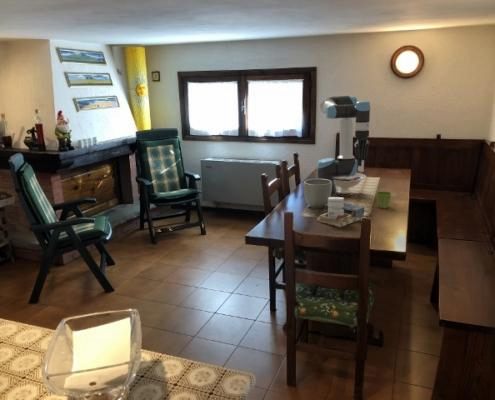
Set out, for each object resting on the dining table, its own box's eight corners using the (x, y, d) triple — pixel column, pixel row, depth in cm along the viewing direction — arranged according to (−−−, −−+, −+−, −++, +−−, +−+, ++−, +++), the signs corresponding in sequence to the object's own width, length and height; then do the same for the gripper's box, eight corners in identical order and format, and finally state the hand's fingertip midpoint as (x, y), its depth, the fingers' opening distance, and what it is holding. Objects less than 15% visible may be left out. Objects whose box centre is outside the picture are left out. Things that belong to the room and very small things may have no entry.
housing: (356, 217, 227) (356, 210, 226) (334, 212, 238) (334, 205, 237) (363, 214, 232) (364, 207, 231) (342, 209, 243) (342, 202, 242)
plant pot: (372, 205, 253) (373, 191, 251) (387, 204, 254) (388, 190, 252) (378, 209, 244) (379, 195, 242) (393, 208, 245) (394, 194, 243)
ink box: (343, 217, 230) (344, 196, 226) (343, 220, 225) (344, 199, 222) (328, 216, 232) (328, 196, 228) (327, 219, 227) (327, 198, 224)
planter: (314, 201, 267) (314, 177, 263) (337, 205, 255) (337, 180, 251) (298, 207, 256) (297, 182, 251) (320, 212, 244) (320, 186, 239)
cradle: (340, 227, 218) (340, 219, 217) (316, 220, 230) (316, 213, 229) (370, 215, 236) (370, 207, 234) (347, 209, 247) (347, 202, 246)
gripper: (361, 131, 222) (359, 174, 229) (374, 129, 230) (373, 170, 237) (349, 130, 228) (348, 172, 234) (363, 128, 236) (361, 168, 242)
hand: (360, 171), depth 235 cm, fingers closed
